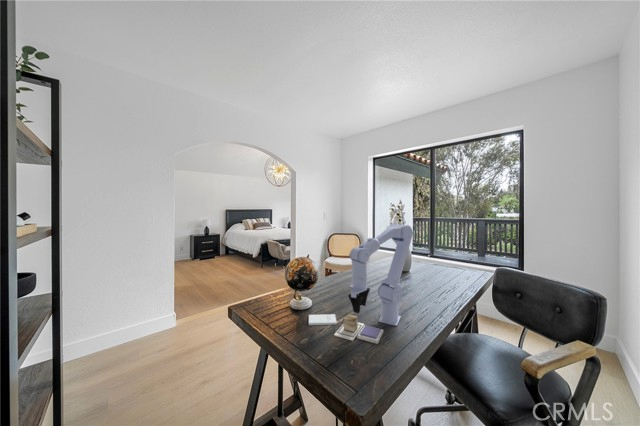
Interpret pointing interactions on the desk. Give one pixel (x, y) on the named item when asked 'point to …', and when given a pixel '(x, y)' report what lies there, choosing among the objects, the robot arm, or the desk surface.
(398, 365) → the desk surface
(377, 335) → the ink pad
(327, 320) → the external hard drive
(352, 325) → the stamp
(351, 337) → the print card
